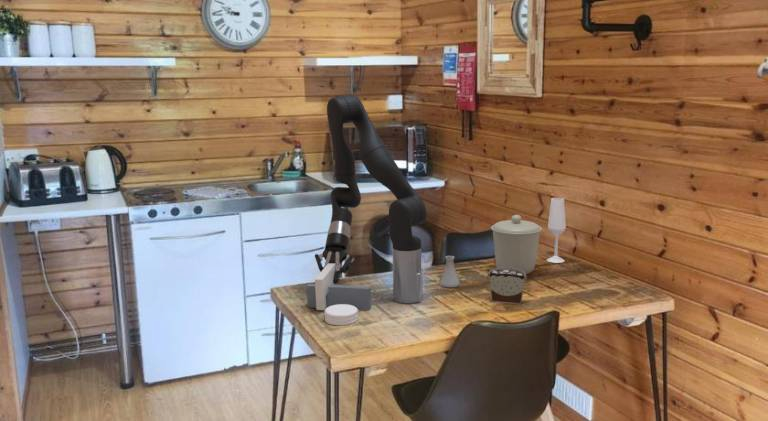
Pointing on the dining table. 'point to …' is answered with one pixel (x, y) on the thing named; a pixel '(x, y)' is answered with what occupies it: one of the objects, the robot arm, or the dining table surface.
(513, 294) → the food container
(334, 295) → the grey slotted plate
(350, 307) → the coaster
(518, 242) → the canister
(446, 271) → the flask
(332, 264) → the white slotted plate
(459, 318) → the dining table surface
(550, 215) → the champagne flute
